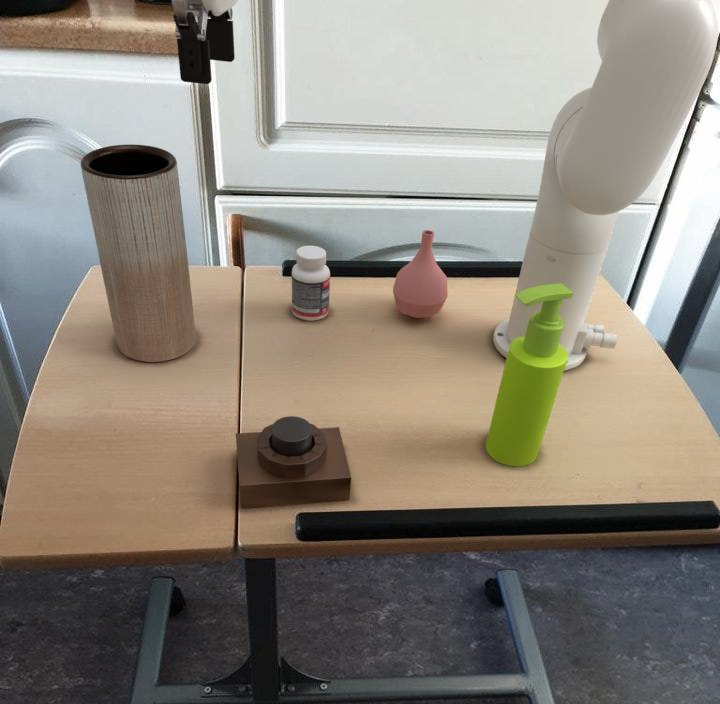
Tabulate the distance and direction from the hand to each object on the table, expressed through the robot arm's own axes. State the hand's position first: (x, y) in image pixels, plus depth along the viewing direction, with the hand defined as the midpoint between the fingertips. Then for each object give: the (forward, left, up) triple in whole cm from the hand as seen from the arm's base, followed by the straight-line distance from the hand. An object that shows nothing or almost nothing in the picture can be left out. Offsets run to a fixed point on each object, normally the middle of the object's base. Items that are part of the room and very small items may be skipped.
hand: (209, 70), depth 78 cm
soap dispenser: (-39, +23, -30) cm, 54 cm away
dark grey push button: (-16, +32, -25) cm, 44 cm away
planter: (+6, +10, -30) cm, 32 cm away
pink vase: (-27, -5, -30) cm, 40 cm away
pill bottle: (-12, -2, -30) cm, 32 cm away
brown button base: (-16, +32, -30) cm, 46 cm away
